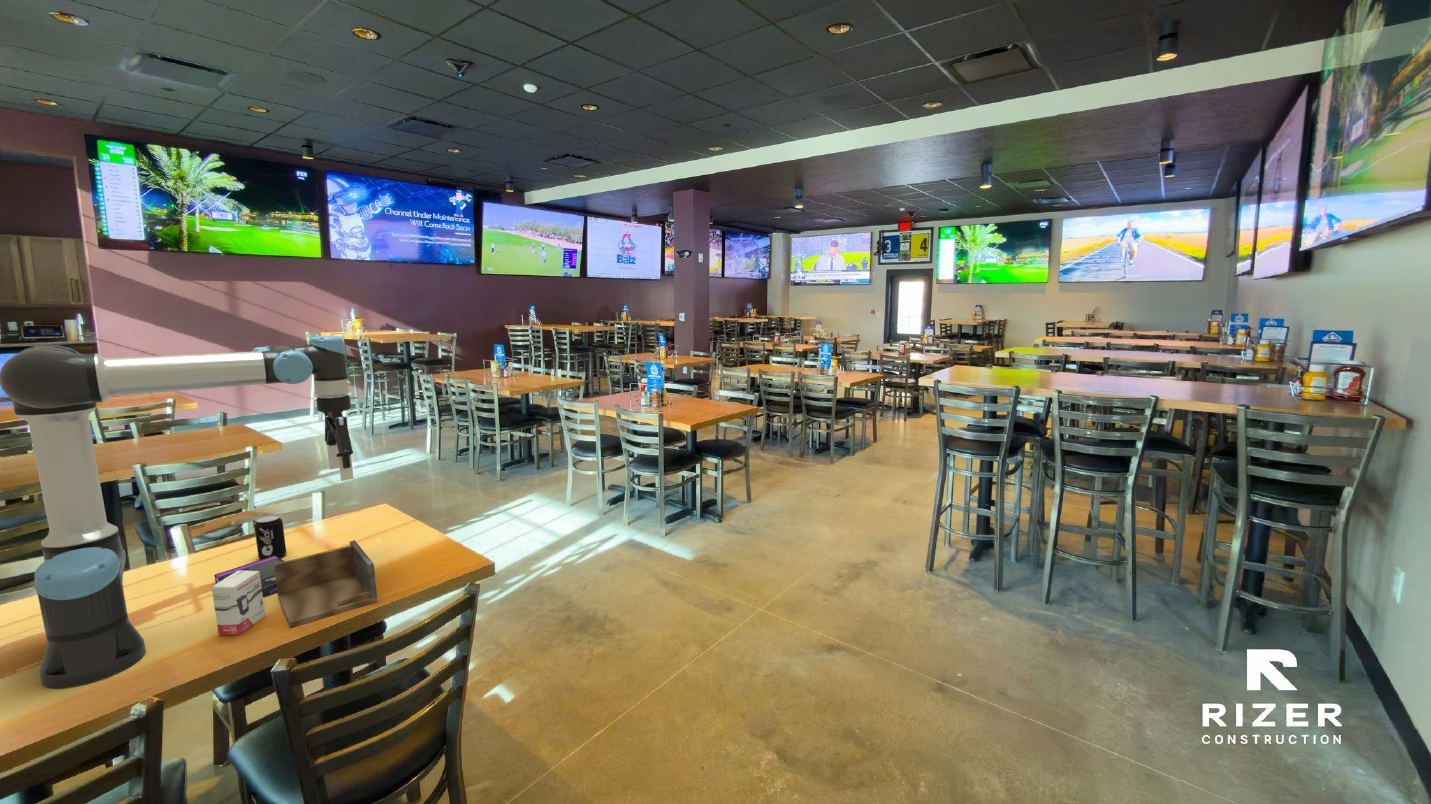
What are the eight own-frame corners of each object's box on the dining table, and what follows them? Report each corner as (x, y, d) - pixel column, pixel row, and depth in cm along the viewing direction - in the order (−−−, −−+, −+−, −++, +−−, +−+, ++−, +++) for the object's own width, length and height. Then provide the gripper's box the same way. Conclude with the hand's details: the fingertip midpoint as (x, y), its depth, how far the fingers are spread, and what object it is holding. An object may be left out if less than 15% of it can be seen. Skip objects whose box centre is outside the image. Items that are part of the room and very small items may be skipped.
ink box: (240, 635, 136) (233, 586, 134) (217, 636, 136) (210, 587, 134) (266, 615, 145) (260, 569, 143) (245, 616, 145) (238, 569, 143)
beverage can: (290, 556, 177) (286, 516, 175) (264, 564, 172) (259, 524, 170) (280, 550, 181) (275, 512, 179) (254, 558, 175) (249, 519, 173)
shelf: (290, 627, 140) (285, 586, 138) (277, 597, 153) (273, 559, 152) (377, 601, 152) (373, 563, 150) (358, 575, 165) (354, 540, 164)
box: (215, 586, 161) (246, 606, 150) (213, 574, 160) (244, 592, 150) (275, 566, 172) (308, 583, 162) (274, 554, 172) (306, 570, 161)
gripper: (361, 400, 152) (369, 481, 156) (338, 388, 170) (346, 461, 174) (326, 403, 147) (335, 487, 151) (307, 391, 165) (315, 466, 169)
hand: (341, 473), depth 163 cm, fingers open, 13 cm apart
